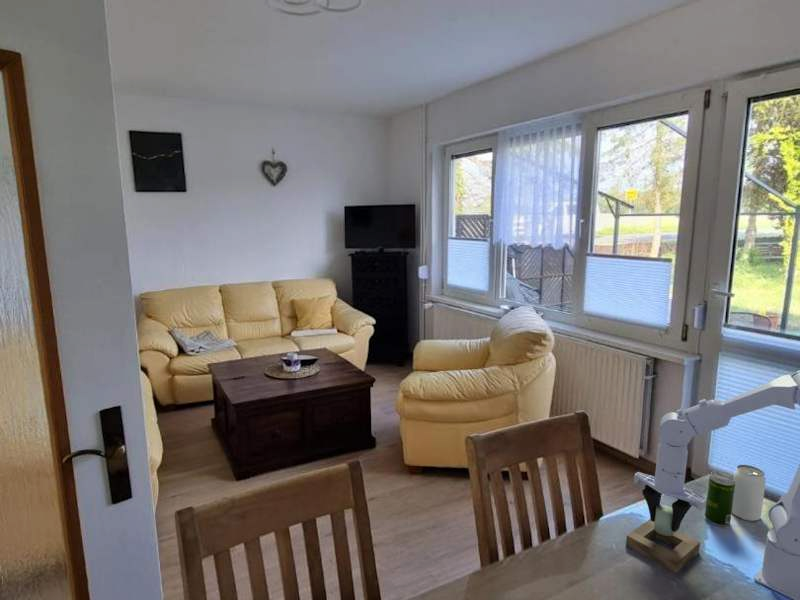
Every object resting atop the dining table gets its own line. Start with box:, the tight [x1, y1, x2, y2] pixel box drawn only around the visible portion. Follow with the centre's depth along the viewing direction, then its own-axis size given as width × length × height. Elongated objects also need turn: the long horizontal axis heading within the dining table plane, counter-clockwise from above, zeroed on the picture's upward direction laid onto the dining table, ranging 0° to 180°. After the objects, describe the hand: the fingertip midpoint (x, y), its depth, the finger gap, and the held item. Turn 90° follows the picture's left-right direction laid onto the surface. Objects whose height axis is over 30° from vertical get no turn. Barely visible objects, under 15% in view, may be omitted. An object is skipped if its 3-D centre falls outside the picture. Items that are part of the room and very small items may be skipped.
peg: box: [654, 504, 674, 536], centre depth 111 cm, size 4×4×5 cm
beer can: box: [704, 470, 735, 528], centre depth 122 cm, size 5×5×12 cm
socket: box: [625, 518, 701, 573], centre depth 111 cm, size 11×11×2 cm
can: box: [732, 464, 766, 522], centre depth 125 cm, size 6×6×12 cm
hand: (664, 524), depth 111 cm, fingers closed on peg, 4 cm apart
